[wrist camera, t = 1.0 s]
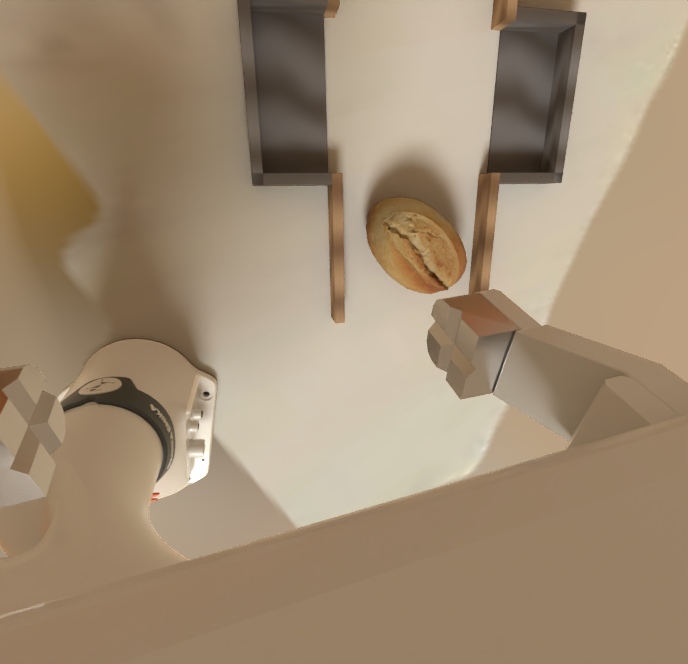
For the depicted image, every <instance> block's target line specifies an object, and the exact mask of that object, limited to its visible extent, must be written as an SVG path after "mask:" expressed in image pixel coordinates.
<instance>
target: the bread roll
mask: <svg viewBox="0 0 688 664" xmlns="http://www.w3.org/2000/svg"><path fill="white" fill-rule="evenodd" d="M366 230H367V239H368V244H369V246H370V249H371V251H372V253H373V255H374V257H375V258H376V260H377V261H378V262H379V264H380V265H381V266H382V267H383V269H384V270H385V271H386V272H387V273H388V274H389V275H390V276H391V277H392V278H393V279H394V280H396V281H397V282H398V283H400V284H401V285H402V286H404V287H406V288H407V289H410V290H413V291H416V292H420V293H427V294H432V293H436V292H439V291H444V290H448V288H449V287H451V286H453V285H454V284H455V283H456V282H457V281H458V280H459V279H460V278H461V277H462V275H463V273H464V271H465V268H466V263H467V259H466V252H465V249H464V246H463V243H462V241H461V239H460V237H459V235H458V233H457V232H456V230H455V229H454V228H453V226H452V225H451V224H450V223H449V222H448V221H447V220H446V219H445V218H444V217H443V216H442V215H441V214H440V213H438V212H437V211H436V210H434V209H433V208H432V207H430V206H428V205H427V204H425V203H423V202H421V201H418V200H416V199H412V198H407V197H394V198H387V199H384V200H382V201H380V202H379V203H377V204H376V205H375V206H374V207H373V208H372V209H371V211H370V214H369V216H368V220H367V225H366Z"/></svg>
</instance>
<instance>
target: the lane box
mask: <svg viewBox="0 0 688 664" xmlns="http://www.w3.org/2000/svg"><path fill="white" fill-rule="evenodd" d="M237 2H238V14H239V26H240V38H241V50H242V62H243V74H244V86H245V98H246V110H247V122H248V134H249V146H250V158H251V170H252V182H253V186H316V185H328V207H329V244H330V281H331V317H332V319H333V320H334V322H335V323H345V309H344V246H343V183H342V173H328V159H327V121H326V84H325V46H324V17H331V18H334V17H335V15H336V12H337V10H338V8H339V5H340V0H237ZM517 4H518V0H494V5H493V16H492V28H491V30H500V41H499V52H498V62H497V73H496V84H495V95H494V106H493V117H492V128H491V139H490V149H489V160H488V171H487V173H486V174H479V179H478V191H477V203H476V214H475V226H474V238H473V249H472V261H471V273H470V284H469V294H474V293H476V292H482V291H487V290H488V289H489V279H490V269H491V260H492V250H493V240H494V230H495V220H496V210H497V201H498V191H499V184H547V183H561V182H562V175H563V169H564V162H565V155H566V148H567V142H568V135H569V128H570V121H571V115H572V108H573V101H574V94H575V88H576V81H577V74H578V67H579V61H580V54H581V47H582V40H583V34H584V27H585V20H586V13H585V12H573V11H562V10H551V9H540V8H529V7H518V6H517Z"/></svg>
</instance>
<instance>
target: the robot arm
mask: <svg viewBox="0 0 688 664" xmlns="http://www.w3.org/2000/svg"><path fill="white" fill-rule="evenodd" d="M431 315H432V317H433V318H434V320H435V321H436V322H435V323H434V324H433V325H432V326H431V327H430V329H429V330H428V336H427V346H428V352H429V355H430V357H431V360H432V361H433V363H434V364H435V365H436V367H438V368H440V369H442V370H444V371H446V372H447V375H446V381H447V382H448V383H449V385H450V386H451V387H452V389H453V390H454V391H455V393H456V394H457V395H458V397H459V398H460V399H465V398H470V397H475V396H480V395H485V394H490V393H493V395H494V396H496V397H498V398H499V399H501V400H503V401H504V402H506V403H507V404H509V405H511V406H512V407H514V408H516V409H517V410H519V411H521V412H523V413H524V414H525V415H527V416H529V417H530V418H532V419H534V420H536V421H537V422H539V423H540V424H542V425H544V426H545V427H547V428H548V429H550V430H552V431H553V432H555V433H557V434H559V435H560V436H562V437H563V438H565V439H567V440H568V441H569V442H568V444H567V446H566V448H565V449H564V450H563V451H560V452H556V453H553V454H550V455H546V456H543V457H540V458H536V459H533V460H529V461H526V462H523V463H519V464H516V465H512V466H509V467H505V468H502V469H498V470H495V471H492V472H489V473H485V474H481V475H478V476H475V477H471V478H468V479H464V480H461V481H457V482H454V483H451V484H447V485H444V486H440V487H437V488H434V489H430V490H427V491H423V492H420V493H417V494H413V495H410V496H406V497H403V498H399V499H396V500H393V501H389V502H386V503H382V504H379V505H376V506H372V507H369V508H365V509H362V510H358V511H355V512H352V513H348V514H345V515H341V516H338V517H335V518H331V519H328V520H324V521H321V522H317V523H314V524H311V525H307V526H304V527H300V528H297V529H294V530H290V531H287V532H283V533H280V534H276V535H273V536H270V537H266V538H263V539H259V540H256V541H252V542H249V543H246V544H242V545H239V546H235V547H232V548H229V549H225V550H222V551H218V552H215V553H212V554H208V555H205V556H201V557H198V558H194V559H191V560H190V559H188V558H186V557H184V556H183V555H181V554H180V553H178V552H176V551H175V550H174V549H172V548H171V547H170V546H169V545H168V544H166V543H165V541H164V540H163V539H162V538H161V537H160V536H159V535H158V533H157V532H156V531H155V529H154V527H153V526H152V524H151V521H150V519H149V508H150V503H151V502H153V501H157V500H158V499H159V498H162V497H166V496H169V495H171V494H174V493H176V492H178V491H180V490H181V489H182V488H184V487H185V486H187V485H190V484H192V483H194V482H196V481H198V480H199V479H201V478H202V477H204V476H205V475H206V474H207V473H208V470H209V466H210V457H211V446H212V436H213V425H214V415H215V404H216V393H217V381H216V379H215V378H214V377H212V376H211V375H209V374H207V373H205V372H203V371H200V370H198V369H196V368H195V367H194V366H192V365H191V364H190V363H189V361H188V360H187V359H186V358H185V357H183V356H182V355H181V354H180V353H179V352H177V351H176V350H174V349H172V348H171V347H169V346H167V345H164V344H162V343H159V342H155V341H151V340H145V339H128V340H122V341H117V342H114V343H111V344H109V345H107V346H105V347H103V348H101V349H100V350H98V351H97V352H96V353H94V354H93V355H92V356H91V357H90V358H89V359H88V361H87V362H86V363H85V365H84V367H83V369H82V371H81V372H80V374H79V376H78V378H77V379H76V380H75V381H74V382H73V383H71V384H70V385H69V386H67V387H66V388H65V389H64V390H63V391H62V392H61V393H60V395H59V396H58V398H57V397H55V396H54V395H51V394H49V393H47V392H45V391H43V390H42V389H43V387H44V384H45V382H46V379H45V378H44V376H43V374H42V373H41V372H40V370H39V369H38V367H36V366H33V365H30V364H28V365H20V366H13V367H6V368H0V547H1V548H2V550H3V551H4V552H5V553H6V554H7V555H8V556H9V557H4V558H0V664H688V383H687V382H685V381H684V380H683V379H681V378H680V377H678V376H677V375H676V374H674V373H673V372H671V371H670V370H668V369H667V368H666V367H664V366H663V365H661V364H659V363H656V362H653V361H650V360H647V359H644V358H641V357H638V356H636V355H632V354H630V353H627V352H624V351H621V350H618V349H615V348H612V347H609V346H607V345H604V344H601V343H598V342H595V341H592V340H589V339H586V338H583V337H581V336H578V335H575V334H572V333H569V332H566V331H563V330H560V329H557V328H555V327H552V326H549V325H544V326H541V325H540V324H539V323H537V322H536V321H535V320H534V319H533V318H531V317H530V316H529V315H528V314H527V313H526V312H524V311H523V310H522V309H521V308H520V307H518V306H517V305H516V304H515V303H514V302H512V301H511V300H510V299H509V298H508V297H506V296H505V295H504V294H503V293H502V292H501V291H498V290H495V289H492V290H487V291H482V292H476V293H474V294H469V295H463V296H457V297H451V298H445V299H439V300H436V302H435V304H434V305H433V309H432V314H431ZM205 391H207V392H209V395H205V394H204V393H203V392H205Z"/></svg>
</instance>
